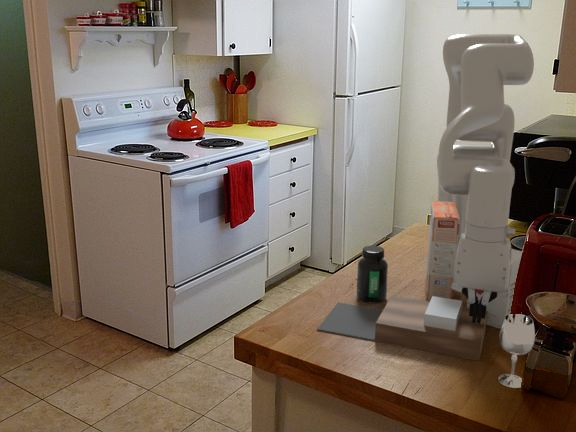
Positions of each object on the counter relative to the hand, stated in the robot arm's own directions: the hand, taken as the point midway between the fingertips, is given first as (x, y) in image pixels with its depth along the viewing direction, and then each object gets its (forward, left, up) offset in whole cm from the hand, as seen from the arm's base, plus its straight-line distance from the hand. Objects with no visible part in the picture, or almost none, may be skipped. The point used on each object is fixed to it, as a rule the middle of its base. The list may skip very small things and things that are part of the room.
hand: (476, 320), depth 120 cm
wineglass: (+12, +8, -5) cm, 15 cm away
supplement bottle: (-13, -24, -5) cm, 28 cm away
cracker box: (-21, -10, -5) cm, 24 cm away
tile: (0, -6, -1) cm, 7 cm away
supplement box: (-13, +3, -5) cm, 14 cm away
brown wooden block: (0, -8, -5) cm, 10 cm away
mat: (0, -25, -5) cm, 25 cm away
